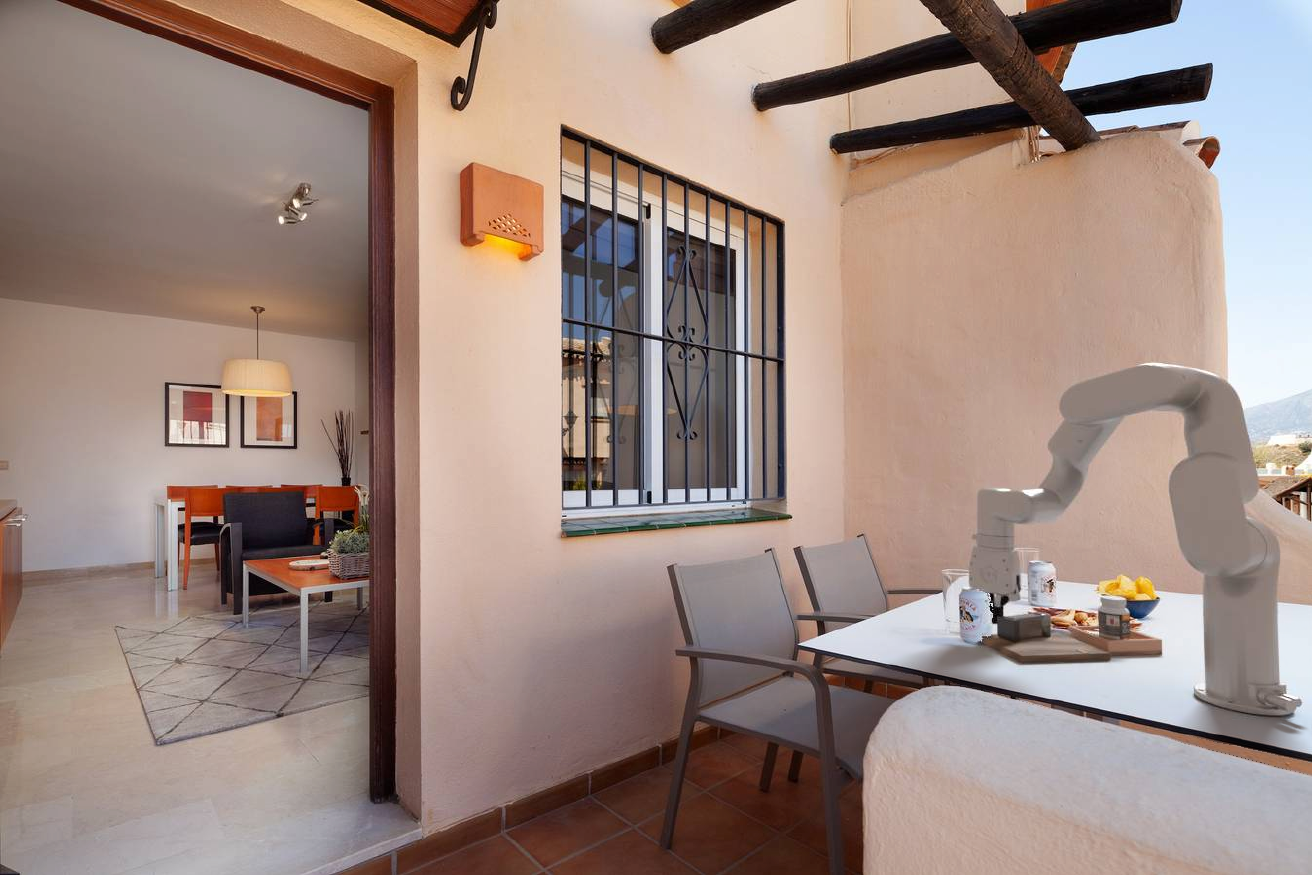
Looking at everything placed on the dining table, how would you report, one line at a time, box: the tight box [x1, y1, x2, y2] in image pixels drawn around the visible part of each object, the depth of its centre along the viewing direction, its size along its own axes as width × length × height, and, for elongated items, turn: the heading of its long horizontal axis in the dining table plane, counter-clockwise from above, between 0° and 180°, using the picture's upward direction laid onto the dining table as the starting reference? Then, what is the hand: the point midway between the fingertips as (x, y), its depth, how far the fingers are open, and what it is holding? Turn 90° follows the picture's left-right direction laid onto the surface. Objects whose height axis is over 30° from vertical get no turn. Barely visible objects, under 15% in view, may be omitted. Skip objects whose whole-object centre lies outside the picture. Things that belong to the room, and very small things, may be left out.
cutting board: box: [981, 632, 1111, 664], centre depth 140 cm, size 16×19×2 cm
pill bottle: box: [1097, 595, 1131, 640], centre depth 143 cm, size 6×6×10 cm
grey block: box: [996, 611, 1052, 642], centre depth 145 cm, size 13×4×4 cm, turn 110°
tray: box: [1067, 624, 1163, 657], centre depth 143 cm, size 12×12×3 cm
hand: (995, 622), depth 148 cm, fingers closed
